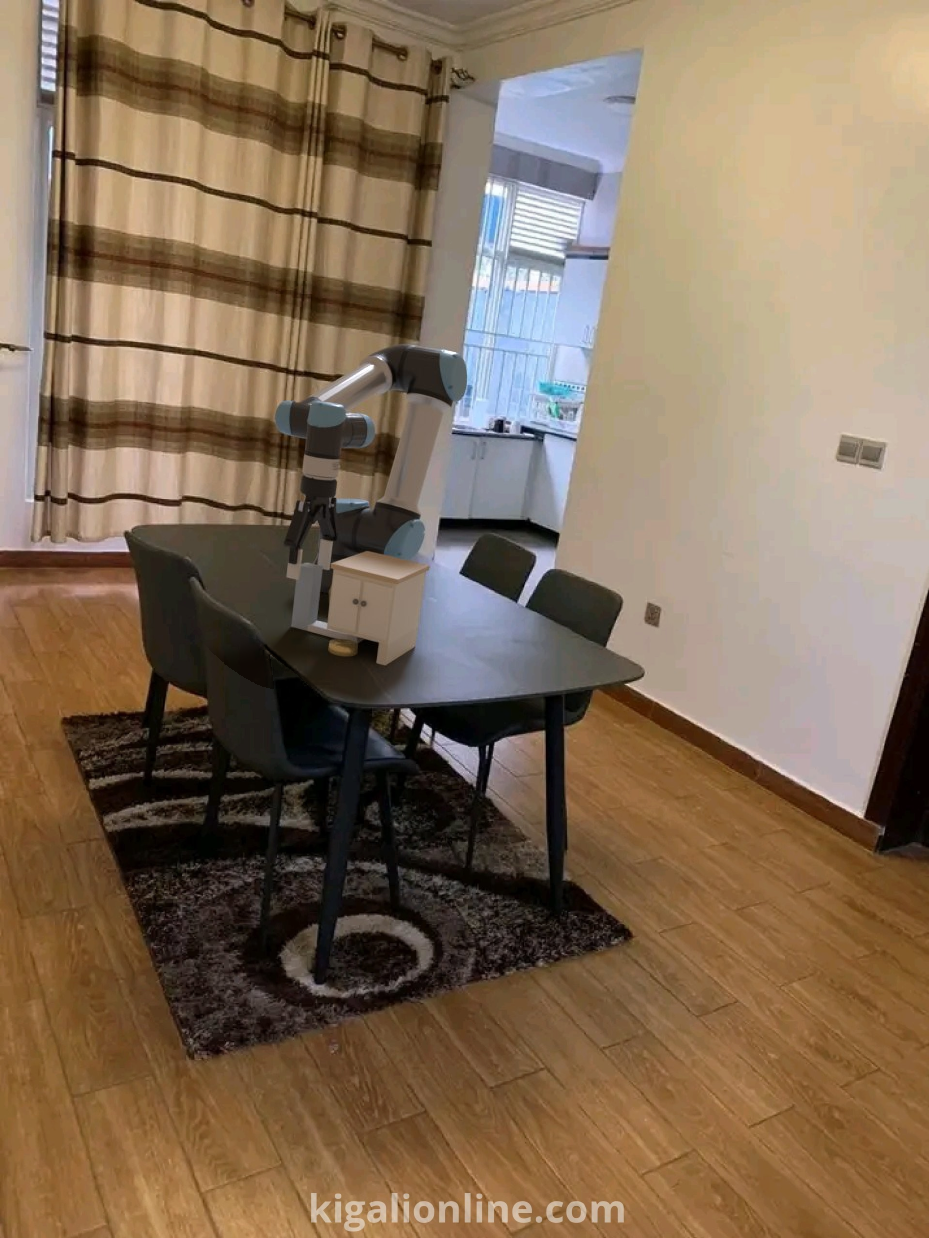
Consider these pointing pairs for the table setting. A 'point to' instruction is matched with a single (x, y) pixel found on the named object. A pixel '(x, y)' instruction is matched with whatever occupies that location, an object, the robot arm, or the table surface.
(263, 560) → the table surface
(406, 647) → the cabinet
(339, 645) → the token
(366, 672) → the table surface
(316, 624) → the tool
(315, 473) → the robot arm
